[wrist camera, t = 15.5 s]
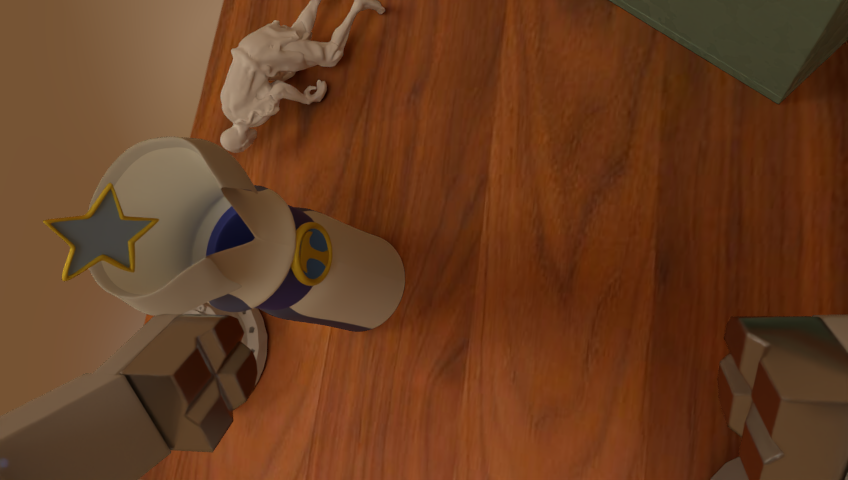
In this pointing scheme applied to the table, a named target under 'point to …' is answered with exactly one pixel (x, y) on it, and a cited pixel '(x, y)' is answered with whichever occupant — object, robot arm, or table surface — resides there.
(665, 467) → the table surface
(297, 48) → the figurine
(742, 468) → the can
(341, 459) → the table surface
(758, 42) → the green box
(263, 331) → the mechanical component
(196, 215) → the water bottle
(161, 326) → the robot arm
